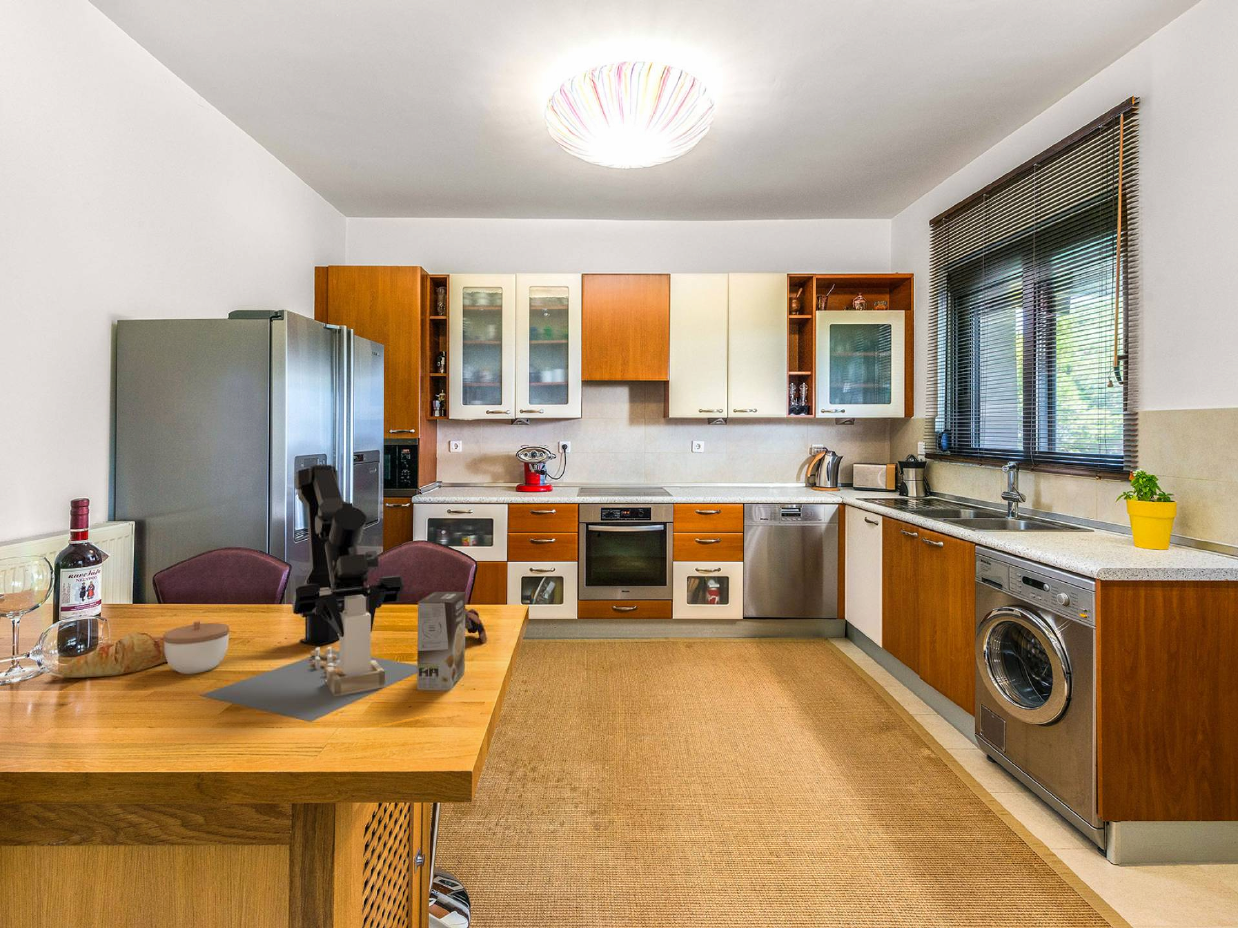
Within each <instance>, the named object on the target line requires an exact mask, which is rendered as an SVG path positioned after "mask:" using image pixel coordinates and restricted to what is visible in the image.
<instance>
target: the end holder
mask: <svg viewBox="0 0 1238 928" xmlns="http://www.w3.org/2000/svg"><path fill="white" fill-rule="evenodd" d="M326 683H327V685H328V686H329V688H330V690H331V691H332V693H333V694H334V696H339V695H345V694H350V693H355V692H361V691H366V690H371V689H376V688H382V687H385V671H384V670H383V669H382V667H381V666H380V665H379V664H378V663H377V662H376V661H375V660H372V661H371V670H369V672H368V673H362V674H356V675H351V676H345V677H339V676H338V674H337V673H336V671H335V670H334V668H333V667H330V668H327V680H326ZM385 688H386V687H385Z"/></svg>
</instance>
